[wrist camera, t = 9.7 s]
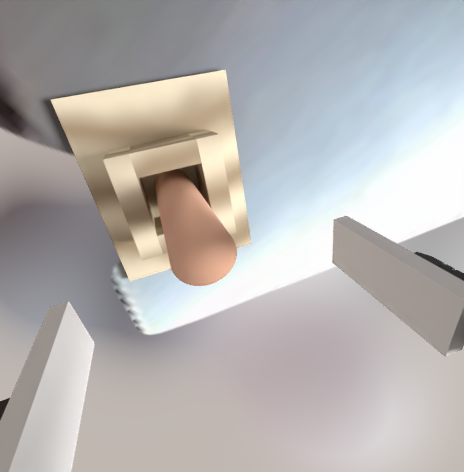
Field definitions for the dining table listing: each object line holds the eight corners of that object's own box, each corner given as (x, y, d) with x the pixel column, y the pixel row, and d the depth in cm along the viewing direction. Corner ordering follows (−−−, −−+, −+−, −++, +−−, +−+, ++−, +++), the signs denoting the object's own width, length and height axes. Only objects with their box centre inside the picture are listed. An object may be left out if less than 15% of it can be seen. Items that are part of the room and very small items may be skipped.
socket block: (53, 99, 24) (30, 98, 19) (222, 70, 27) (242, 62, 22) (130, 276, 33) (128, 307, 28) (248, 240, 37) (266, 262, 31)
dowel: (149, 173, 28) (160, 237, 14) (186, 164, 29) (230, 217, 15) (160, 208, 30) (180, 294, 16) (194, 198, 31) (241, 273, 17)
